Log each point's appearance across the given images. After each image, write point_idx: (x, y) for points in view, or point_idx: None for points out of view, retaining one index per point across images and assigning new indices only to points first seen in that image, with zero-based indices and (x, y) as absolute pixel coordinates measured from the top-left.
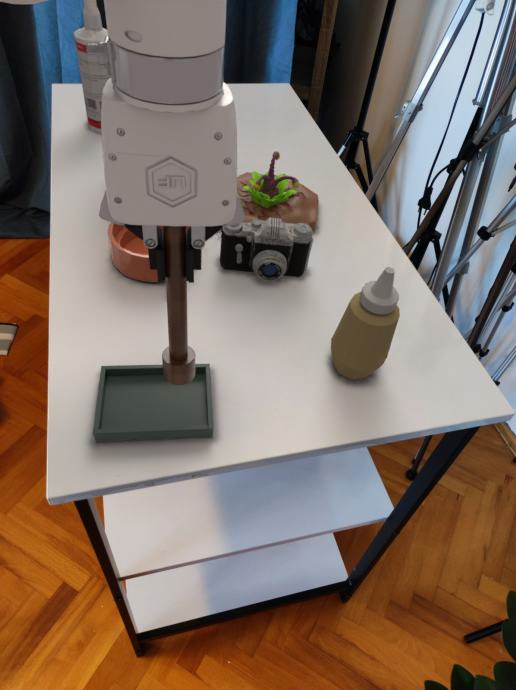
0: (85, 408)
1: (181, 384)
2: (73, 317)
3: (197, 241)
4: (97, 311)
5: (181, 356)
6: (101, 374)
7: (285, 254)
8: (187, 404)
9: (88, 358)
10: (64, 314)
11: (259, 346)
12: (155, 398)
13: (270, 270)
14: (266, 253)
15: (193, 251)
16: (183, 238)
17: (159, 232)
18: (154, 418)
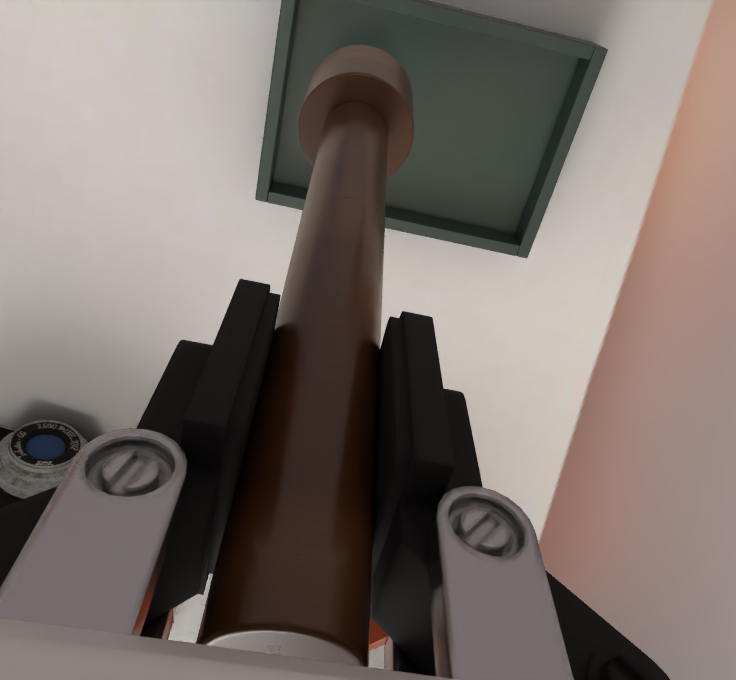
0: (586, 156)
1: (364, 45)
2: (539, 412)
3: (132, 482)
4: (485, 417)
5: (350, 106)
6: (534, 232)
7: None
8: None
9: (539, 297)
10: (556, 423)
11: (113, 237)
12: (416, 135)
13: (43, 445)
14: (39, 491)
15: (187, 416)
16: (240, 528)
17: (398, 595)
18: (434, 70)
